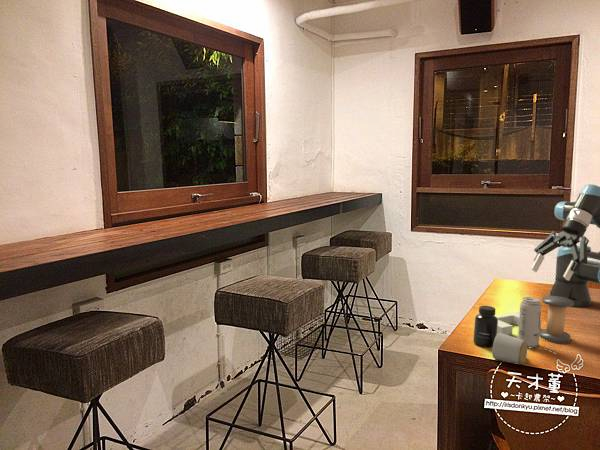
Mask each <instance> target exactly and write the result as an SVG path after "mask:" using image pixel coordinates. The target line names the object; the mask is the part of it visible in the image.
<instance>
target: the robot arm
mask: <svg viewBox="0 0 600 450" xmlns="http://www.w3.org/2000/svg"><path fill="white" fill-rule="evenodd" d="M553 214H554V216H555V218H556V219H557V220H560V221H564V222H563V224H562V226H561V230H560V232H559V233H557V232H555V231H551V233H549V235H548V236H547V237H546V238H545V239H543V241H541V243H539V244H538V245H537V246H536V247H535V248H533V251H534V252H535V253H536V255H535V257H534V259H533V264H532V265H531V267H530V270H532V271H533V272H534V273H538V271H539V268H540V267H541V266H542V263H543V261H544V260H545V255H547V254H549V253H550V252H552V251H554V250H555V249H557V248H558V249H557V253H556V254H557V255H556V263H555V264H556V267H555V279H554V284H553V285H552V288H551V290H550V291H549V295H548V296H559V297H564V298H568V299H571V300H572V301H573V306H572V307H577V308H579V307H580V308H581V307H589V306H591V304H592V297H591V294H590V290H589V286H588V283H589V282H591V283H595V284H598V285H600V251H598V252H596V251H592V248H591V247H590V246H588V244H589V242H590V240H589V239H588V237H587V236H585V234H586V231H587V229H588V227H589V226H590V225H594V226H596V228H598V229H600V186H599V185H597V184H585V185H584V186H583V187H582V190H581V191H580V192H579V194H578V196H577V198H576V200H575V201H567V200H565V201H560V202H558V203H556V205H555V207H554V212H553ZM577 244H579V245H577Z"/></svg>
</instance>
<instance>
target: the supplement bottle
mask: <svg viewBox="0 0 600 450" xmlns="http://www.w3.org/2000/svg"><path fill="white" fill-rule="evenodd" d="M478 309H479V310H478V314H475V318H474V327H473V328H474V329H473V343H474V344H475V345H476V346H479V347H480V348H493V343H494V340H495V337H496V335H497V327H498V319H497V317H495V316H496V308H495V307H493V306H491V305H480V306H479V308H478Z"/></svg>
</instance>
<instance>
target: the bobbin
mask: <svg viewBox="0 0 600 450" xmlns="http://www.w3.org/2000/svg"><path fill="white" fill-rule="evenodd" d="M541 302H542V303H543V304H545V305H548V310H547V321H546V322H547V323H546V328H544V329H542V328H541V329H540V333H539V338H540V337H541V338H540V339H542V338H543V339H545V340H544V341H546V340H547V341H546V342H549V341H550V343H554V344H568V343H570V342H571V334H570V333H568V332H566V331H565V322H566V310H567V308H571V307H574V306H573V301H572V300H571V299H568V298H564V297H559V296H549V295H546V296H545V295H544V296H543V297H541ZM543 339H542V340H543Z"/></svg>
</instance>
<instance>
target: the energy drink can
mask: <svg viewBox="0 0 600 450" xmlns="http://www.w3.org/2000/svg"><path fill="white" fill-rule="evenodd" d="M519 305H520V306H519V312H520V316H519V326H518V335H517V338H519V339H522V340H524V341H526V343H527V347H531V348H530V349H534V348H533V347H535V348H536V347H537V346H538V345H539V342H540V330H541V329H540V320H541V318H542V317H541V316H542V304H541V301H540V299H539V298H536V297H532V296H524V297H523V298H522V300H521V302H520V304H519ZM541 321H542V320H541Z"/></svg>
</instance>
